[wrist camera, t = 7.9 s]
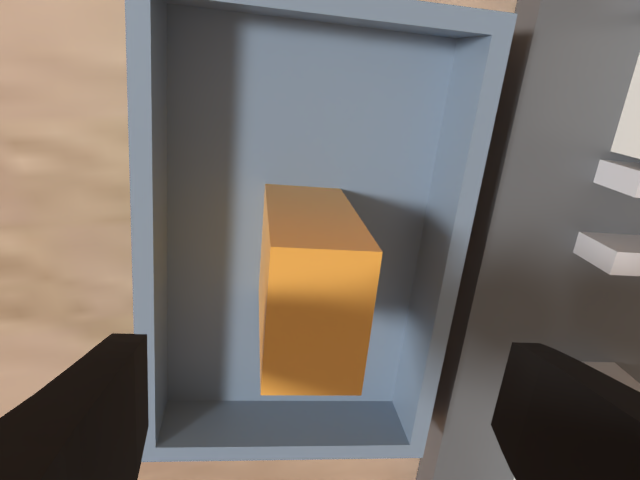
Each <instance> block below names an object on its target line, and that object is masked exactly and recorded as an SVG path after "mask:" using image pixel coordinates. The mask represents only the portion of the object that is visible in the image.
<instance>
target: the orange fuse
mask: <svg viewBox="0 0 640 480" xmlns="http://www.w3.org/2000/svg"><path fill="white" fill-rule="evenodd" d="M382 254H383V252H382V250H381V249H380V247H379V246H378V244H377V243H376V241H375V240H374V238H373V237H372V235H371V234H370V232H369V231H368V229H367V228H366V226H365V225H364V223H363V221H362V220H361V218H360V217H359V215H358V214H357V212H356V211H355V209H354V208H353V206H352V205H351V203H350V202H349V200H348V199H347V197H346V196H345V194H344V193H343V191H342V190H341V189H339V188H323V187H308V186H292V185H277V184H265V193H264V209H263V226H262V242H261V259H260V275H259V339H260V390H261V395H313V396H361V395H362V389H363V382H364V375H365V368H366V362H367V355H368V348H369V341H370V335H371V328H372V321H373V314H374V308H375V301H376V294H377V287H378V281H379V274H380V267H381V261H382Z"/></svg>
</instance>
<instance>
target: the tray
mask: <svg viewBox="0 0 640 480" xmlns="http://www.w3.org/2000/svg"><path fill="white" fill-rule="evenodd" d="M516 19H517V14H516V13H509V12H501V11H493V10H486V9H478V8H471V7H463V6H455V5H448V4H440V3H432V2H425V1H417V0H125V21H126V58H127V94H128V131H129V168H130V204H131V241H132V277H133V314H134V334H147V358H148V419H149V427H148V431H147V436H146V441H145V446H144V451H143V456H142V460H141V462H172V461H241V460H309V459H378V458H423V455H424V450H425V445H426V441H427V436H428V431H429V426H430V422H431V417H432V412H433V408H434V403H435V398H436V394H437V389H438V384H439V380H440V375H441V370H442V366H443V361H444V356H445V352H446V347H447V342H448V337H449V333H450V328H451V323H452V319H453V314H454V309H455V305H456V300H457V295H458V291H459V286H460V281H461V277H462V272H463V267H464V262H465V258H466V253H467V248H468V244H469V239H470V234H471V230H472V225H473V220H474V216H475V211H476V206H477V202H478V197H479V192H480V188H481V183H482V178H483V173H484V169H485V164H486V159H487V155H488V150H489V145H490V141H491V136H492V131H493V127H494V122H495V117H496V113H497V108H498V103H499V99H500V94H501V89H502V84H503V80H504V75H505V70H506V66H507V61H508V56H509V52H510V47H511V42H512V38H513V33H514V28H515V24H516ZM265 184H277V185H292V186H308V187H323V188H339V189H341V190H342V191H343V193H344V194H345V196H346V197H347V199H348V200H349V202H350V203H351V205H352V206H353V208H354V209H355V211H356V212H357V214H358V215H359V217H360V218H361V220H362V221H363V223H364V225H365V226H366V228H367V229H368V231H369V232H370V234H371V235H372V237H373V238H374V240H375V241H376V243H377V244H378V246H379V247H380V249H381V250H382V252H383V254H382V261H381V267H380V274H379V281H378V287H377V294H376V301H375V308H374V314H373V321H372V328H371V335H370V341H369V348H368V355H367V362H366V368H365V375H364V382H363V389H362V395H361V396H313V395H261V390H260V339H259V275H260V259H261V242H262V226H263V209H264V193H265Z"/></svg>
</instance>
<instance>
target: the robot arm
mask: <svg viewBox="0 0 640 480" xmlns="http://www.w3.org/2000/svg"><path fill="white" fill-rule="evenodd" d="M491 426H492V429H493V431H494V434H495V436H496V438H497V441H498V443H499V446H500V448H501V451H502V453H503V455H504V457H505V459H506V462H507V464H508V466H509V468H510V470H511V472H512V474H513V476H514V477H515V479H516V480H640V392H639V391H637V390H635V389H633V388H631V387H629V386H627V385H625V384H623V383H621V382H619V381H618V380H616V379H614V378H612V377H610V376H608V375H606V374H604V373H602V372H600V371H598V370H596V369H594V368H593V367H591V366H589V365H587V364H585V363H583V362H581V361H579V360H577V359H575V358H573V357H571V356H569V355H567V354H565V353H562V352H560V351H558V350H556V349H553V348H551V347H549V346H546V345H544V344H541V343H517V342H512V345H511V348H510V352H509V356H508V360H507V364H506V368H505V372H504V375H503V379H502V383H501V387H500V391H499V395H498V398H497V402H496V406H495V410H494V414H493V418H492V421H491ZM148 427H149V419H148V358H147V334H111V335H110V336H108V337H107V338H106V339H104V340H103V341H102V342H100V343H99V344H98V345H97V346H95V347H94V348H93V349H92V350H90V351H89V352H88V353H87V354H85V355H84V356H83V357H82V358H80V359H79V360H78V361H77V362H75V363H74V364H73V365H72V366H70V367H69V368H68V369H67V370H65V371H64V372H63V373H61V374H60V375H59V376H57V377H56V378H55V379H54V380H52V381H51V382H50V383H48V384H47V385H46V386H44V387H43V388H42V389H41V390H39V391H38V392H37V393H35V394H34V395H33V396H31V397H30V398H28V399H27V400H25V401H24V402H23V403H21V404H20V405H18V406H17V407H15V408H14V409H12V410H11V411H10V412H8V413H7V414H5V415H4V416H2V417H1V418H0V480H137V478H138V474H139V469H140V465H141V460H142V456H143V451H144V446H145V441H146V436H147V431H148Z"/></svg>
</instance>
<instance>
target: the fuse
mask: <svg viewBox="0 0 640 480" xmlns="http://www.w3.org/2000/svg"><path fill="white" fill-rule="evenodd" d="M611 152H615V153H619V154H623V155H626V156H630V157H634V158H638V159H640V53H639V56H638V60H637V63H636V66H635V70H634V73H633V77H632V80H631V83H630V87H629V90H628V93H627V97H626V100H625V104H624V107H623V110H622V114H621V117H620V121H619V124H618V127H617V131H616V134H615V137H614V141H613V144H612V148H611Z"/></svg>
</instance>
